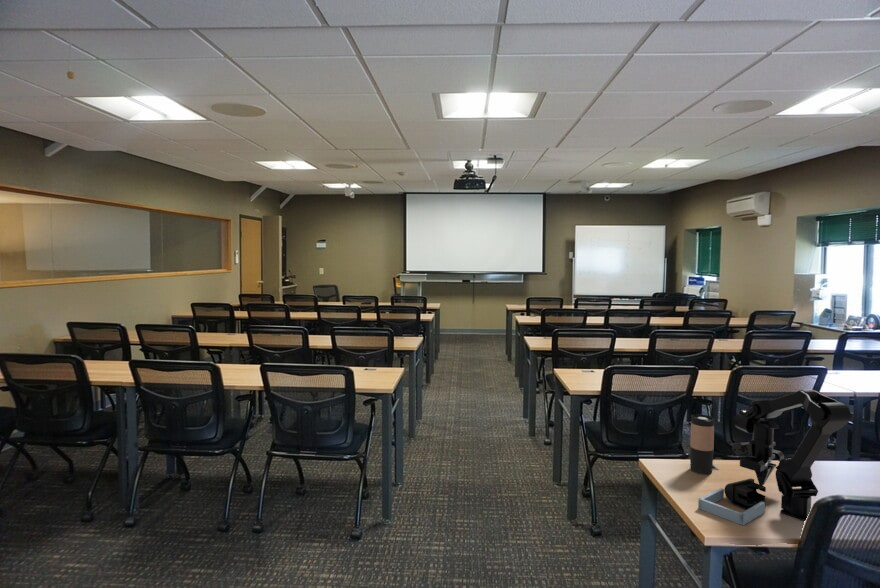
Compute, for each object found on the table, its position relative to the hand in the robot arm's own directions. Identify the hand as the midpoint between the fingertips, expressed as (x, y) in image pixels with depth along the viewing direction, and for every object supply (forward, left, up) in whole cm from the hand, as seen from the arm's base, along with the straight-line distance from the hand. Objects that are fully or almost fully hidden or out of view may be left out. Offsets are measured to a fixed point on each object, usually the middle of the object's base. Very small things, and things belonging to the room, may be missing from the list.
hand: (761, 484), depth 166 cm
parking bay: (0, +21, -3) cm, 21 cm away
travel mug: (+22, -3, -3) cm, 22 cm away
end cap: (0, +12, -3) cm, 12 cm away
